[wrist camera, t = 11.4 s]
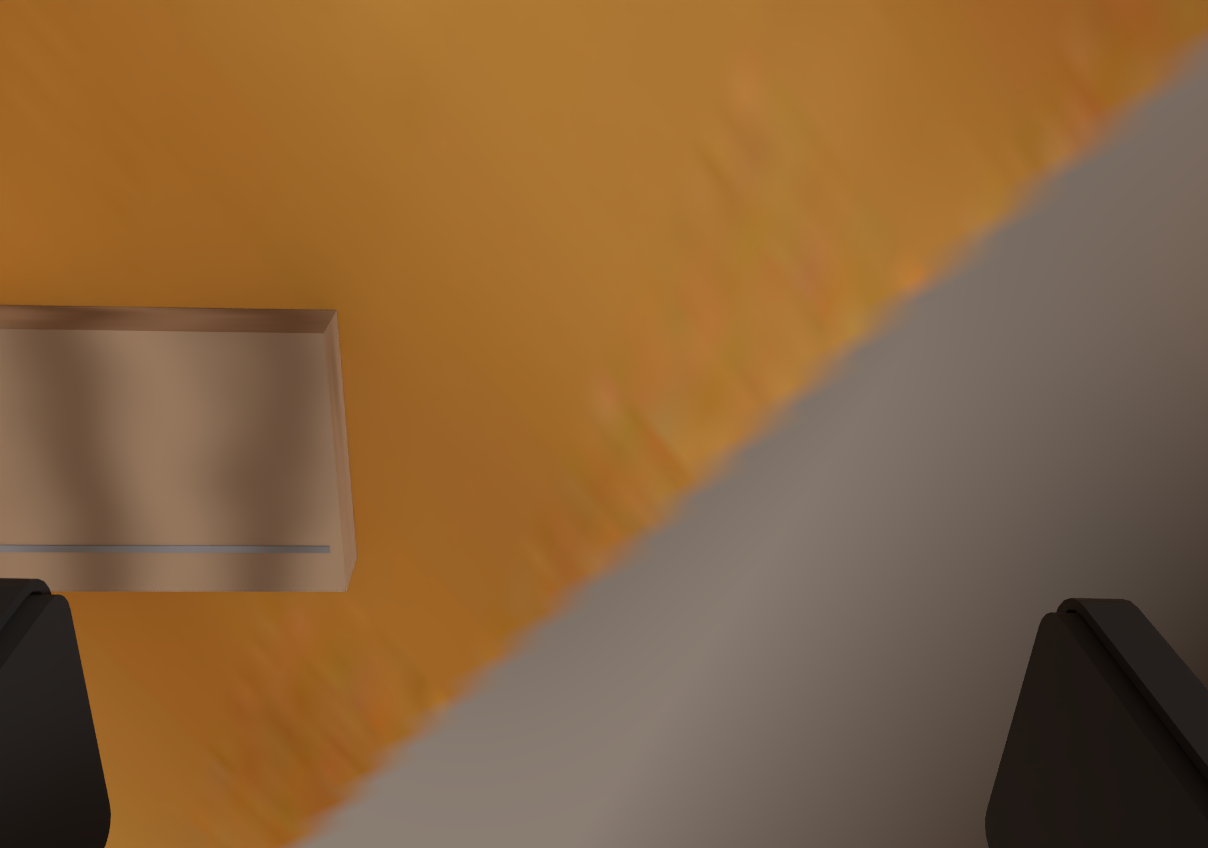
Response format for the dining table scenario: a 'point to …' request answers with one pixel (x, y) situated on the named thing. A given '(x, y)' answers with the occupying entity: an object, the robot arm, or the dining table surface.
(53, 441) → the walnut board
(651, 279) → the dining table surface
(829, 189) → the dining table surface
